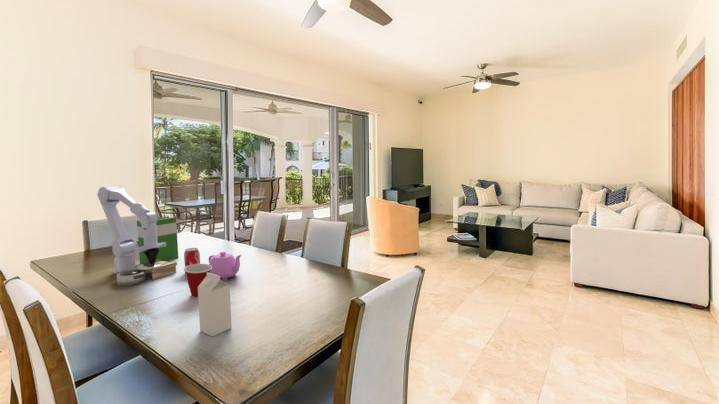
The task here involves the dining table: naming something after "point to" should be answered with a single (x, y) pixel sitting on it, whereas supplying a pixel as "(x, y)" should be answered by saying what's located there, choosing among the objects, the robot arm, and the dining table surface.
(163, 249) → the hardback book
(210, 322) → the milk carton
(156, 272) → the lid rest
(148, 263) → the lid
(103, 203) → the robot arm
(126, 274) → the cooker
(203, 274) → the plastic cup
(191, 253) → the soda can
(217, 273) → the teapot
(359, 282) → the dining table surface
